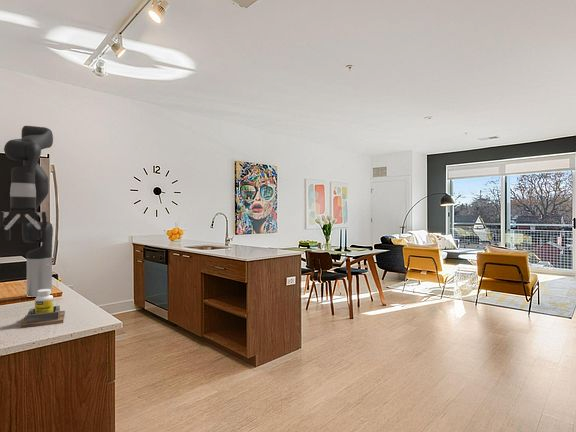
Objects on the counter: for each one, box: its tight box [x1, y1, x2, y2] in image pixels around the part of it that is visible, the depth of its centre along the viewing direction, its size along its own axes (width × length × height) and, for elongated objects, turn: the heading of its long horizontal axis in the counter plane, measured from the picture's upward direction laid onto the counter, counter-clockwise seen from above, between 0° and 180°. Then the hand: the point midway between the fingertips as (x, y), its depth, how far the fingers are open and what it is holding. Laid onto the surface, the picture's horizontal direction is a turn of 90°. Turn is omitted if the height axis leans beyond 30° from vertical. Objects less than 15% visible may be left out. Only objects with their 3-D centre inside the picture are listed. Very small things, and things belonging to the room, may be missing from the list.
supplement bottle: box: [34, 289, 54, 314], centre depth 124 cm, size 5×5×10 cm
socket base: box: [19, 305, 66, 329], centre depth 124 cm, size 12×12×4 cm
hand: (23, 239), depth 128 cm, fingers open, 8 cm apart
